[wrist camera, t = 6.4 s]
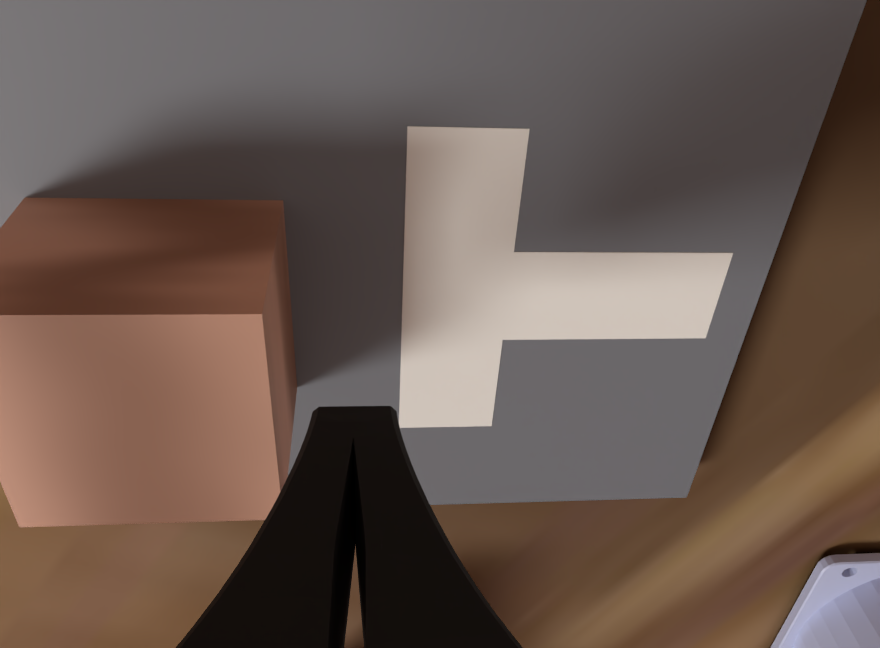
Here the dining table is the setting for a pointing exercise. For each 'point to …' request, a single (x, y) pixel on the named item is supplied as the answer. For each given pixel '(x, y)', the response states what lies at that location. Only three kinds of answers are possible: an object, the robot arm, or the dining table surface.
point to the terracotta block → (144, 360)
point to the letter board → (464, 199)
